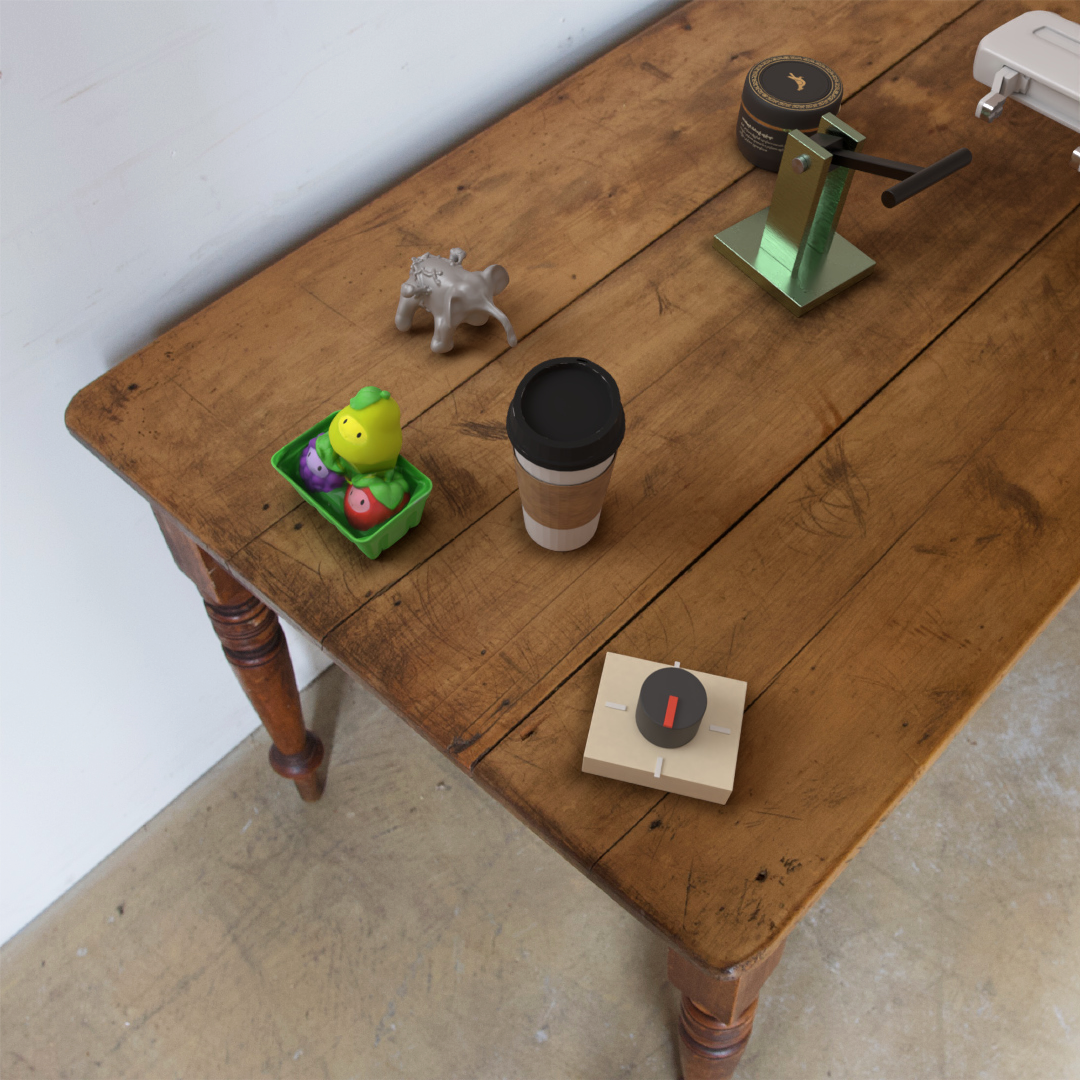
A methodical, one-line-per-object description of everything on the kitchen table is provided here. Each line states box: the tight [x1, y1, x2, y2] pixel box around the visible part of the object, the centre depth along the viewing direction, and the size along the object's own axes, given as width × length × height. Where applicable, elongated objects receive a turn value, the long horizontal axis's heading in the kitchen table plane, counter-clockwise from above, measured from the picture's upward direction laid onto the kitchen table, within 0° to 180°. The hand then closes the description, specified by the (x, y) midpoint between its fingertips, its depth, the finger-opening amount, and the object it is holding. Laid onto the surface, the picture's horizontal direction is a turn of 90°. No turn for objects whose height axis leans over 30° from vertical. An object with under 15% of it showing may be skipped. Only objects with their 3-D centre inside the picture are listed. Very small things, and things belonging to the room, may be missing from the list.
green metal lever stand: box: [711, 112, 877, 318], centre depth 91 cm, size 12×10×14 cm
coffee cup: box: [505, 356, 627, 552], centre depth 74 cm, size 8×8×15 cm
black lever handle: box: [809, 133, 973, 209], centre depth 83 cm, size 13×9×2 cm
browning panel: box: [581, 651, 748, 805], centre depth 69 cm, size 10×9×3 cm
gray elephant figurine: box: [394, 247, 518, 354], centre depth 88 cm, size 9×12×8 cm
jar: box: [735, 54, 844, 174], centre depth 103 cm, size 10×10×8 cm
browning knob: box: [635, 667, 707, 748], centre depth 66 cm, size 4×4×4 cm
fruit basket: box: [270, 385, 433, 561], centre depth 76 cm, size 11×9×11 cm
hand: (1028, 137), depth 84 cm, fingers open, 8 cm apart
